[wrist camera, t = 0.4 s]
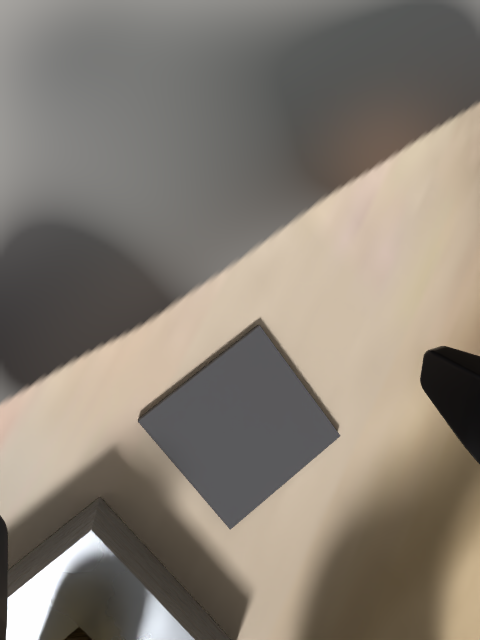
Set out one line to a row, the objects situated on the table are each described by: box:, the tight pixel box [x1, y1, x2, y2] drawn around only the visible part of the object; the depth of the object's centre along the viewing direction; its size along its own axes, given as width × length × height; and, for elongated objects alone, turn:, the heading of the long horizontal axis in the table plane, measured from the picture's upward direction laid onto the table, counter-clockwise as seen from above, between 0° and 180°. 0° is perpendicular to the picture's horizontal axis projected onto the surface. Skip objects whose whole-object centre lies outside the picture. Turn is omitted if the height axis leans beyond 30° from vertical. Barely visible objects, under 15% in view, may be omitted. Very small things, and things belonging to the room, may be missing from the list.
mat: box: [138, 325, 340, 529], centre depth 22 cm, size 8×8×1 cm
